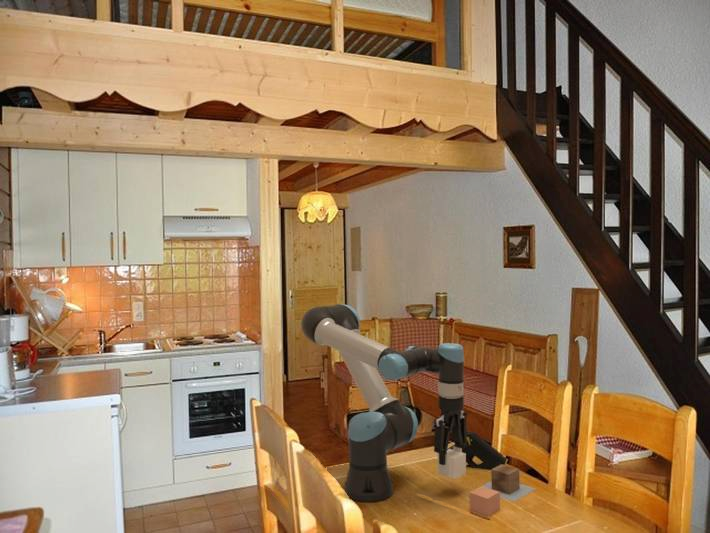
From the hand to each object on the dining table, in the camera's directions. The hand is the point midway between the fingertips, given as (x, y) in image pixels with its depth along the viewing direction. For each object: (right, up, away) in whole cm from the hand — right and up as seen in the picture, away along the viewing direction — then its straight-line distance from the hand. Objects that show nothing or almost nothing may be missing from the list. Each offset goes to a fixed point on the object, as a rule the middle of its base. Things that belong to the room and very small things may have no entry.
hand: (450, 471), depth 166 cm
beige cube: (0, 0, 0) cm, 1 cm away
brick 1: (+7, -7, -12) cm, 16 cm away
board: (+17, -7, +1) cm, 18 cm away
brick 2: (+17, -6, +1) cm, 18 cm away
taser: (+12, -7, +21) cm, 25 cm away
